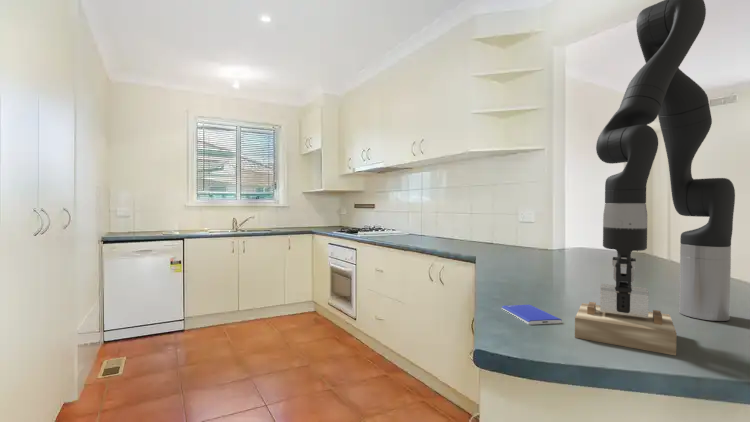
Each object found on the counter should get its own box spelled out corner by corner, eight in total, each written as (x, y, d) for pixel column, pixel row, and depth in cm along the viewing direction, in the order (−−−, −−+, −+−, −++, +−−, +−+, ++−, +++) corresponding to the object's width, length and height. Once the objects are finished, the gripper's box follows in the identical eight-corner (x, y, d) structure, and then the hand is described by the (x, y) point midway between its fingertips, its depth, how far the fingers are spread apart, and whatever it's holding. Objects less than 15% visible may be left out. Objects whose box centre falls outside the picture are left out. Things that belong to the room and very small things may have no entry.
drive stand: (581, 320, 88) (582, 296, 88) (669, 333, 79) (669, 307, 79) (574, 337, 76) (575, 310, 76) (676, 355, 67) (676, 324, 67)
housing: (646, 312, 77) (647, 288, 77) (648, 318, 73) (648, 292, 73) (601, 306, 81) (601, 283, 81) (600, 311, 78) (600, 287, 77)
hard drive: (501, 305, 96) (528, 320, 84) (531, 304, 98) (562, 318, 86) (501, 311, 96) (528, 327, 84) (531, 310, 98) (561, 325, 86)
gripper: (648, 228, 69) (647, 321, 69) (646, 225, 81) (644, 304, 81) (600, 226, 73) (599, 314, 73) (605, 223, 85) (603, 299, 85)
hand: (623, 308), depth 77 cm, fingers closed on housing, 4 cm apart
